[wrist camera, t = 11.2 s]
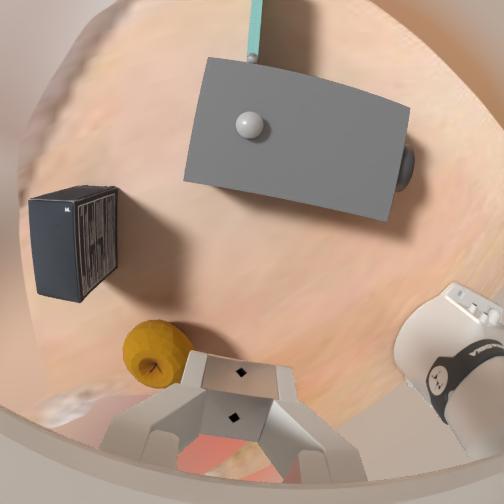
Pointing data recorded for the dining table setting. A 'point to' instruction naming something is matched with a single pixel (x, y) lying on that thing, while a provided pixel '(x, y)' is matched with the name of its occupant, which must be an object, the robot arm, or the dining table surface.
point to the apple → (156, 353)
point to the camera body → (298, 139)
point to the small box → (73, 240)
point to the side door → (254, 31)
